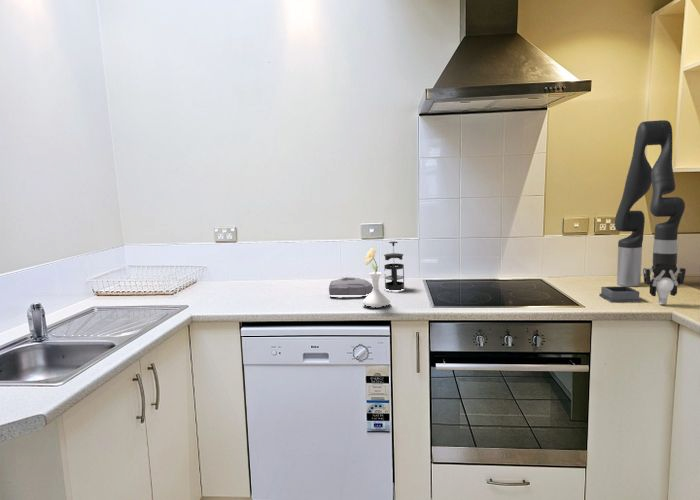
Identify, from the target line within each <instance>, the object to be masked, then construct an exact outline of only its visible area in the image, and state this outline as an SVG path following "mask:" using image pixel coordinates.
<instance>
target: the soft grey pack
mask: <svg viewBox="0 0 700 500" xmlns="http://www.w3.org/2000/svg"><path fill="white" fill-rule="evenodd" d="M372 291H373V283H371V282H370V281H368V280H366V279H365V278H360V277H348V276H347V277H343V278H339V279H334V280H331V281H330V283H329V287H328V293H329V296H330V295H366V294H369V293H371V292H372Z"/></svg>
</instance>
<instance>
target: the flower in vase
mask: <svg viewBox="0 0 700 500" xmlns="http://www.w3.org/2000/svg"><path fill="white" fill-rule="evenodd" d="M376 252H377V250H376V247H375V246H373V247H371V248H370V249H369V250H368V251H367V253H366V256H365V257H364V259H365V260H364V264H365V266H366V265H367V266H368V265H370V263H372V261H374V263H375V264H374V263H372V264H371V266H370V267H371V269H373V270H374V271H372V272H369V273H368V274H369V275H370V277H371V279H372V286H373V290H372V292H371V293H370V294H369V295H368V296H366V297H364V299H363V300H362V304H363V306H365V305H366V306H365V307H367V306H371V307H370V308H375V307H376V308H383V307H382V306H384V307H386V305H387V306H388V305H390V303H391V300H390V298H388V296H386V295H385V294H383V293H382V292H381V291H380V288H379V286H380V285H379V281H380V277H381V275H382V272H380V271H378V268H379V266H378V264H377V261H376V260H375V257H376Z"/></svg>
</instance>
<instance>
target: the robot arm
mask: <svg viewBox="0 0 700 500" xmlns="http://www.w3.org/2000/svg"><path fill="white" fill-rule="evenodd" d="M635 133H636V134H635V136H634V137H635V138H634V145H633V151H632V156H631V161H630V165H629V167H628V172H627V176H626V179H625V184H624V189H623V193H622V197H621V200H620V203H619V206H618V208H617V211H616V214H615V219H614V228H615V230H616V231H618V232H631V234H630V235H629V236H627V237H624V238H621V239H619V240H618V242H617V265H616V266H617V270H616V271H617V272H616V284H617V285H618V286H628V287H639V286H641V283H642V282H641V281H642V280H641V279H642V278H641V277H642V273H643V282H644V284H646V285H648V286H649V294H650V296H652V297H656V296H657V291H656V284H657V282H658V281H660V279H661V278H664V277H667V278H670V279H672V281H673V283H674V287H673V289H672V290H671V292H670V293H669V295H670V296H672V297H674V296H676V295H677V294H678V287H679V285H684V283H685V277H686V272H687V271H686V268H684V267H682V266H681V267H677V263H678V251H679V248H678V247H679V246H678V244H679V243H678V230H679V225H680V223H681V219H682V217H683V214H684V213H685V210H686V209H685V208H686V203H685V201H684V200H683V198H682V197H680V196H679V197H678V196H670V197H669V196H668V197H667V196H665V197H663V196H664V195H669V194H671V193H674V191H675V190H676V182H675V176H674V169H673V168H674V167H673V127H672V124H671V122H670V121H669V120H665V119H663V120H648V121H642V122H640V123H639V124H638V126H637V130H636V132H635ZM658 145H659V146H660V149H661V150H660V154H659V156H658V158H657V160H656V161H655V162H654V164H653V166H651V164H650V162H649V161H648V158H647V156H646V152H645V151H646V148H647V146H658ZM651 186H652V195H651V202H650V205H649V210H650V214H652V216H654V217H657V218H659V217H661V218H663V217H669V219H668V220H666V221H665V222H661V223H657V224H655V225H654V226H655V227H654V240H653V244H652V245H653V246H652V247H653V248H652V266H651V267H650V268H646V267H644V268H643V269H642V260H643V258H642V256H643V241H644V232H645V231H644V230H645V222H646V220H645V213H644V212H643V211H642V210H631V209H632V208H633V206H634V205H635V204H636V203H637V202H638V201H640V199H642V198H643V197H644V196H645V195H646V194H647V193H648V192H649V190H650V189H651ZM676 273H677V274H676ZM651 274H653V275H652V277H651ZM675 274H676V275H677V276H675Z"/></svg>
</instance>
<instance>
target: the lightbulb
mask: <svg viewBox="0 0 700 500" xmlns="http://www.w3.org/2000/svg"><path fill="white" fill-rule="evenodd" d="M673 287H674V283H673V281H672V279H670V278H667V277H664V278H661V279H660V281H658V282H657V284H656V294H657V297H658V301H657V302H658V304H659V305H661V306H665V305H668V304H667V303H668V297H669V295H670V292H671V290H672V289H673Z"/></svg>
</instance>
